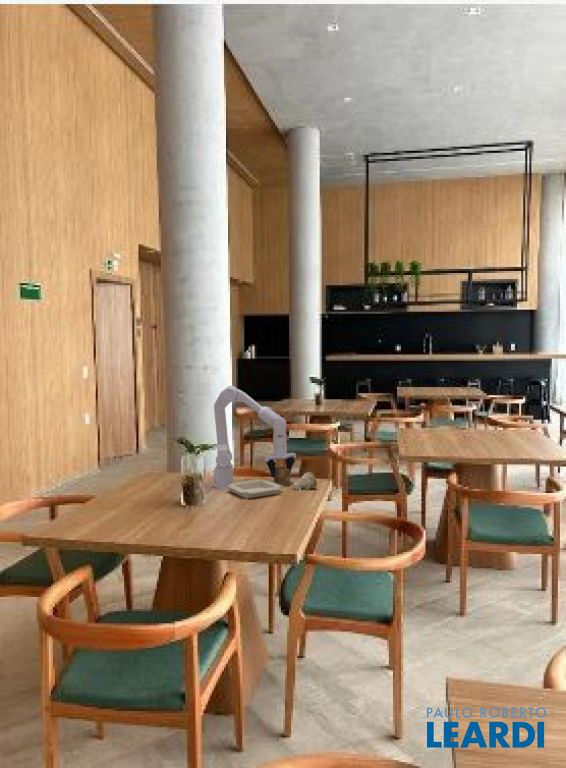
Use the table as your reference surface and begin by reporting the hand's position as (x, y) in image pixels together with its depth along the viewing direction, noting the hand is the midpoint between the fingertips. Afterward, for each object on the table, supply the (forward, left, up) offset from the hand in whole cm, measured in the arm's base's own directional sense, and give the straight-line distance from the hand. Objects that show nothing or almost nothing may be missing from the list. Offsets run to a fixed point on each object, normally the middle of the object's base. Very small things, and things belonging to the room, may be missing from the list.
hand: (280, 475), depth 264 cm
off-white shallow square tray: (+6, -16, -4) cm, 17 cm away
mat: (0, 0, -4) cm, 4 cm away
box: (+1, 0, -4) cm, 4 cm away
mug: (+13, +4, -4) cm, 14 cm away
